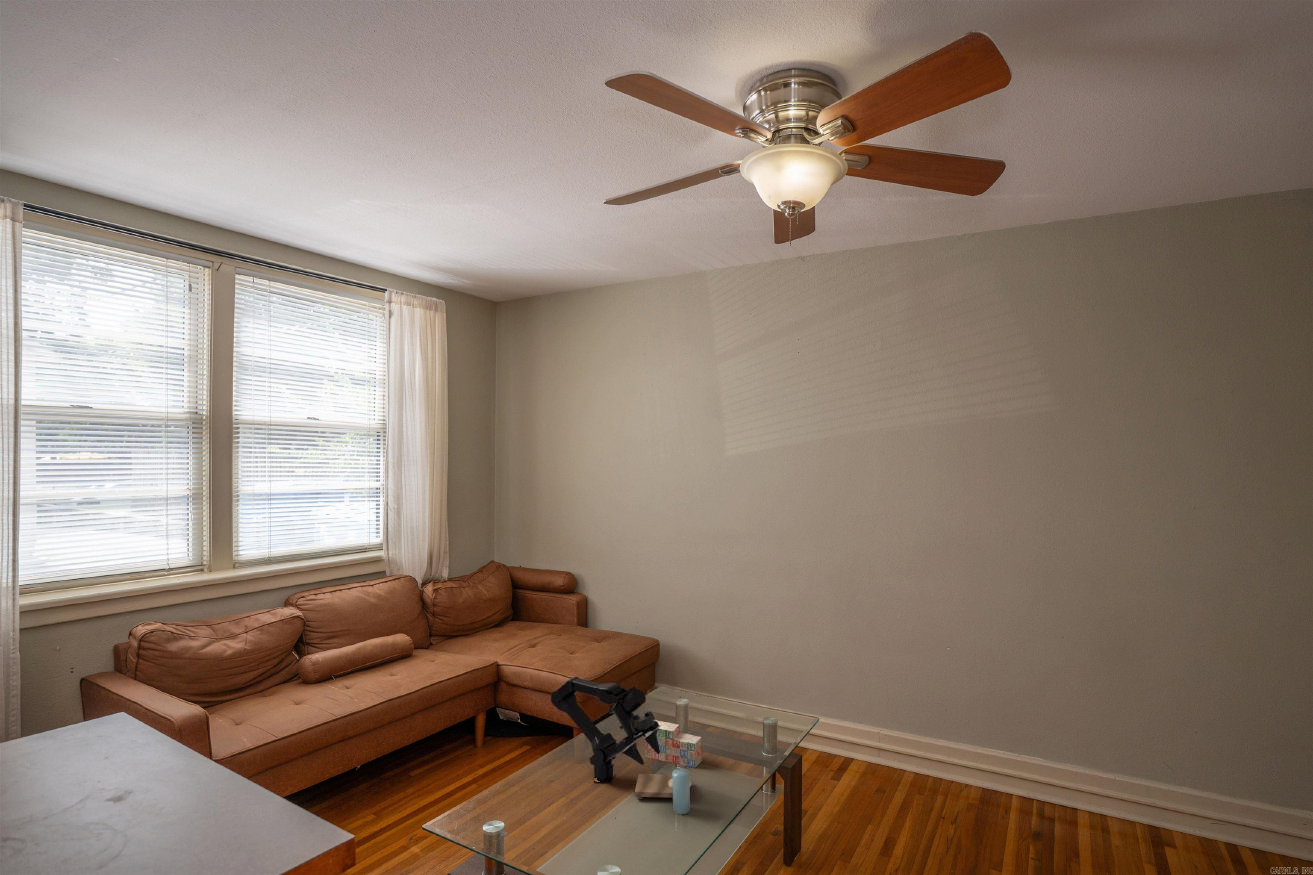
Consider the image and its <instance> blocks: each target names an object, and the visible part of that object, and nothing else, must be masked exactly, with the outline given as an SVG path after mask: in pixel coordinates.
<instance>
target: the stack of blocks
mask: <svg viewBox="0 0 1313 875" xmlns="http://www.w3.org/2000/svg"><path fill="white" fill-rule="evenodd" d="M654 720H655V721H657V722H658V724H659V727H658V728H657V729H659V730H658V731H657V741H658V745H659V749H660V753H659V754H657V753H656V752H655V751H654V750H653V749H652V747H651V746H650V745H649V744H648V743H647V742H646V740H645V738H646V737H644V736H643V738H644V757H647V758H650V759H655V760H657V761H658V760H659V761H663V762H667V763H671V764H672V763H673V764H676V765H679V766H685V767H688V768H693V769H695V768H696V767H698V765H699V764H700V763H701V762H702V737H701V736H697V735H694V734H693V735H692V734H687V733H683V732H680V730H681V729H680V724H676V723H672V722H665V721H661V720H657V719H654ZM654 720H653V721H654Z"/></svg>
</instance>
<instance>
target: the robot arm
mask: <svg viewBox="0 0 1313 875" xmlns="http://www.w3.org/2000/svg"><path fill="white" fill-rule="evenodd" d="M577 692H578V693H581V694H584V695H588V696H592V697H594V698H596V699H598V700H599V701H600V702H601V703H603V704H605V705H609V709H608V714H609V715H610V714H611V715H612V714H614V715H615V717H616V719H617V720H618V722H619V725H620V726H619V728H620V730H624V732H625V734H626V735H627V736H625V737H623V738H622V739H621V740H620V741H619V742H617V739H615V738H614V737H613V735H612V734H611V733H610V732H607V733H602V732H601V731H600V729H599V728H598V727H597V726H596V724H595V723H594V722H593V720H591V718H590V717H589V716H588V715H587V713H585V711H584V710H583V709H582V708H581V706H580V705H579V704H578V699H577V695H576V693H577ZM550 697H551V698H550V702H551V704H552V705H553V706H554V707H555V708H556V709H557V710H558V711H560V712H562V713H565V714H567V715H568V717H569V718H570V719H571V720H572V721H573V723H574V724H575V725H576V726H577V727H578V729H579V730H580V732H582V733H583V735H584V737H586V739H587V740H588V741H589V742H590V745H591V749H592V753H593V754H592V756H590V757H589V762H590V766H593V771H594V772H593V773H594V774H593V779H594V778H597V780H598V781H600V782H603V783H604V784H605V783H606V784H611V783H612V781H613V779H614V777H615V764H614V763H613V760H615V759H616V758H617V755H618V754H620V753H621V754H622V755H625V756H627V757H629V758H631V759H632V760H634V761H635V762H636V763H638V764H639V765H641V766H644V764H645V762H644V759H643V757H642V756H641V754H640V752H639V750H638V747H637V742H635V741H637V740H638V739H641V738H642V737H643V738H644V737H646V738H645V739H644V741H645V740H646V742H647V743H648V744H649V745H650V746H651V747H652V749H653V750H654V751H655V752H656V753H657V754H659V753H660V749H659V745H658V741H657V731H658V730H659V729H657V728H658V727H659V724H658V722H657V721H658V720H657V721H655V720H656V719H655V718H656V717H655V715H654V713H653V712H652V711H646V713H644V716H642V717H641V716H640V715H639V714H635V713H634V712H637V710H638V709H640V708H641V707H642V706H643V705H644V704H645V703H646V701H647V697H646V695H645V692H643V691H642V690H640V689H639V688H636V686H634V685H633V686H632V687H630V688H624V687H623V686H621V685H620V684H619V683H614V682H608V683H599V682H596V681H592V680H587V679H585V678H580V677H579V676H574V677H571V678H570V679H567V680H566V682H565V683H564V684H563V685H561V686H560V687H559V688H558V689H557V690H554V691H552V693H551V696H550ZM653 720H654V721H653ZM603 783H602V784H603Z"/></svg>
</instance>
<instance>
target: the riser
mask: <svg viewBox="0 0 1313 875" xmlns="http://www.w3.org/2000/svg"><path fill="white" fill-rule="evenodd" d="M691 786H692V781H691V780H690V787H691ZM635 797H636V799H637V800H639V801H640V800H643V799H644V798H645V797H646V798H672V799H673V777H672V774H659V773H658V774H653V773H649V774H647V773H639V774H638V776H637V780H636V785H635V790H634V798H635Z"/></svg>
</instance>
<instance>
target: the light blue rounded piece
mask: <svg viewBox="0 0 1313 875" xmlns="http://www.w3.org/2000/svg"><path fill="white" fill-rule="evenodd" d="M671 775H672V777H673V798H672V811H673V813H674V814H675V813H676V814H675V815H678V814H680V815H679V816H682V815H681V814H685V815H687V814H686V813H688V812H689V811H691V794H690V793H691V792H690V790H691V789H690V788H691V786H690V781H691V779H690V771H689V770H688V769H686V768H676V769H673V771H672V773H671ZM689 813H690V812H689ZM689 813H688V814H689Z"/></svg>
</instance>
